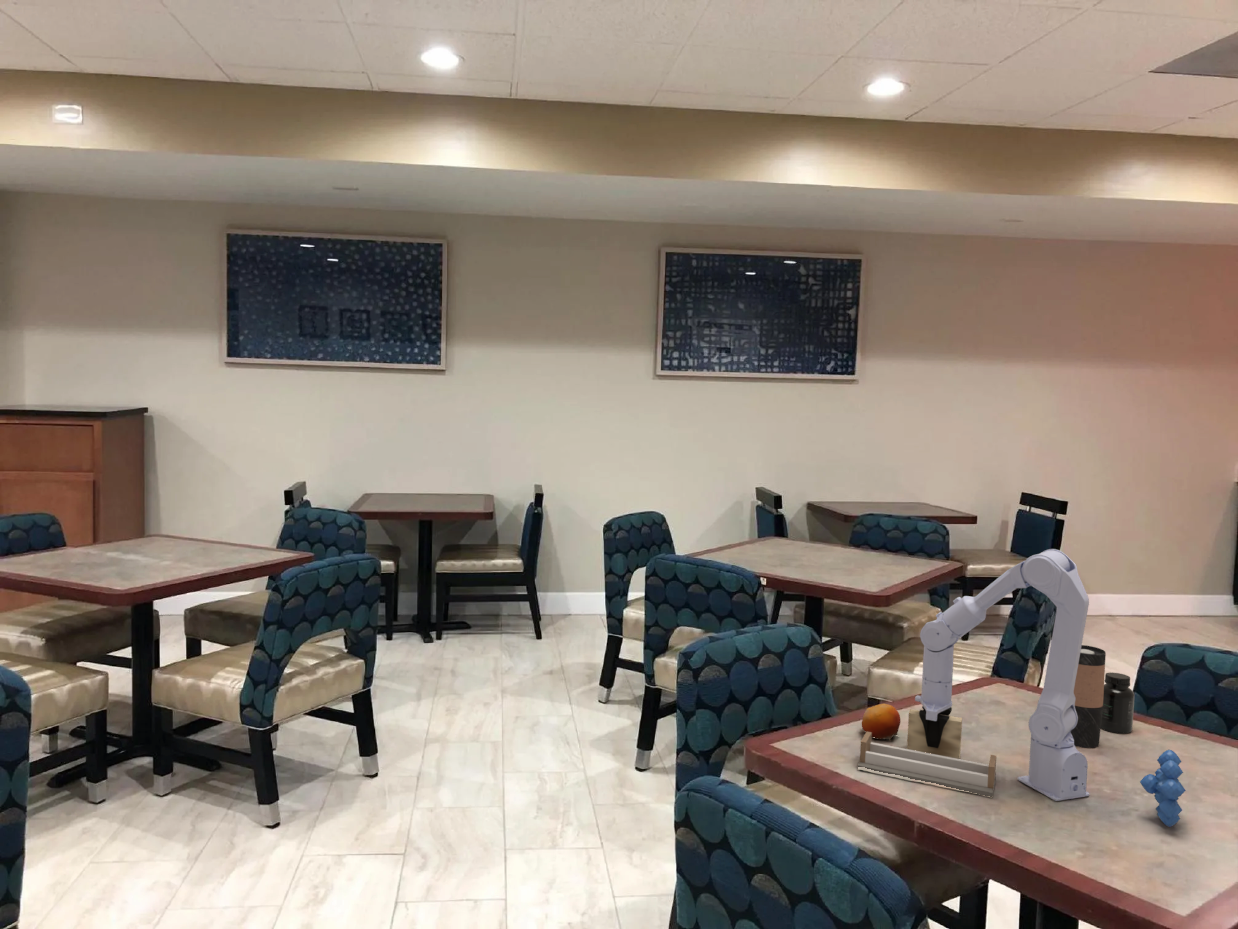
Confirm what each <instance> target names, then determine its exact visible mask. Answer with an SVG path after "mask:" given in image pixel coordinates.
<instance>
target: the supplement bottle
mask: <svg viewBox="0 0 1238 929" xmlns="http://www.w3.org/2000/svg"><path fill="white" fill-rule="evenodd" d="M1130 687H1131V677H1130V676H1129V675H1127V674H1125V673H1119V672H1111V671H1110V672H1105V676H1104V694H1103V709H1102V719H1101V729H1100V730H1103V731H1106V732H1108V733H1109V732H1110V733H1114V734H1119V735H1121V734H1122V735H1123V734H1129V733H1131V732H1132V731H1133V721H1134V709H1135V693H1134V691H1133V690H1132V688H1130Z"/></svg>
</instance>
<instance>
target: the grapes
mask: <svg viewBox="0 0 1238 929" xmlns="http://www.w3.org/2000/svg"><path fill="white" fill-rule="evenodd" d="M1156 761H1157V763H1158V764H1159V767H1158V768H1157V769H1156V770H1155V771H1154V774H1155V775H1154V774H1151V773H1149V774H1147V775H1144V776H1143V777H1142V779H1141V780H1140V781H1139V783H1140V784H1141V786H1142V788H1143V790H1145V791H1146V793H1148V794H1152V795H1153V794H1154V795H1153V796H1154V799H1155V801H1156V802H1157V803H1158V806H1157V807H1155V810H1156V812H1157V814H1156V815H1157V816H1158V818H1159V819H1160V821H1161V822H1162V823H1163V824H1164V826H1166V827H1169V828H1170V827H1173V826H1175V825H1176V824H1177V823H1178V822H1179V821H1180V820H1181V818H1180V816H1179V815H1180V814H1181V813H1182V811H1183V809H1182V807H1181V805H1180V804H1179V802H1178V800H1179V797H1181V796H1182V795H1183V794H1184V793H1185V792H1186V789H1185V787H1184V785H1183V784H1182V783H1181V782H1180V780H1179V779H1178V778H1180V776H1181V775H1182V774H1183V773H1184V772H1183V770H1182V769H1181V767H1180V764H1181V763H1182V760H1181V759H1180V757H1179V756H1178V754H1177V753H1176V752H1175V751H1174V750H1172V749H1167V750H1165V751H1163V752H1162V753H1161V754H1160V755H1159V756H1158V758H1157V759H1156Z"/></svg>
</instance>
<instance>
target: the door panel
mask: <svg viewBox="0 0 1238 929" xmlns="http://www.w3.org/2000/svg"><path fill="white" fill-rule="evenodd" d="M919 711H920V710H917V709H912V708H911V709H909V712H908V721H907V722H908V723H907V742H906V749H910V750H916V751H920V752H926V753H931V754H936V755H941V756H946V757H951V758H957V759H961V748H962V733H963V732H962V731H963V717H957V716H953V715H949V719H948V721H947V723H946V724H945V726H944V728H943V732H942V736H941V741H940V744H939V747H938V748H934V747H928V746H927V742H926V736H925V730H924V726H923V723H922V720H921V719H920V716H919ZM940 715H941V714H940ZM945 716H947V715H945Z"/></svg>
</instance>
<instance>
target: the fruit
mask: <svg viewBox="0 0 1238 929" xmlns="http://www.w3.org/2000/svg"><path fill="white" fill-rule="evenodd" d="M900 725H901V716H900V713H899V711H898V710H897V709H896V707H894V706H893V705H892V704H887V703H880V704H876V705H872V707H868V708H866V709H865V711H864V713H863V715H862V720H861V727H862V729H863V732H864V733H866V732H872V737H875V738H878V739H877V740H885V739H889V740H890V741H891V739H892V738H893V737H894V736H896V735H898V732H899V728H900ZM889 740H888V741H889Z"/></svg>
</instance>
